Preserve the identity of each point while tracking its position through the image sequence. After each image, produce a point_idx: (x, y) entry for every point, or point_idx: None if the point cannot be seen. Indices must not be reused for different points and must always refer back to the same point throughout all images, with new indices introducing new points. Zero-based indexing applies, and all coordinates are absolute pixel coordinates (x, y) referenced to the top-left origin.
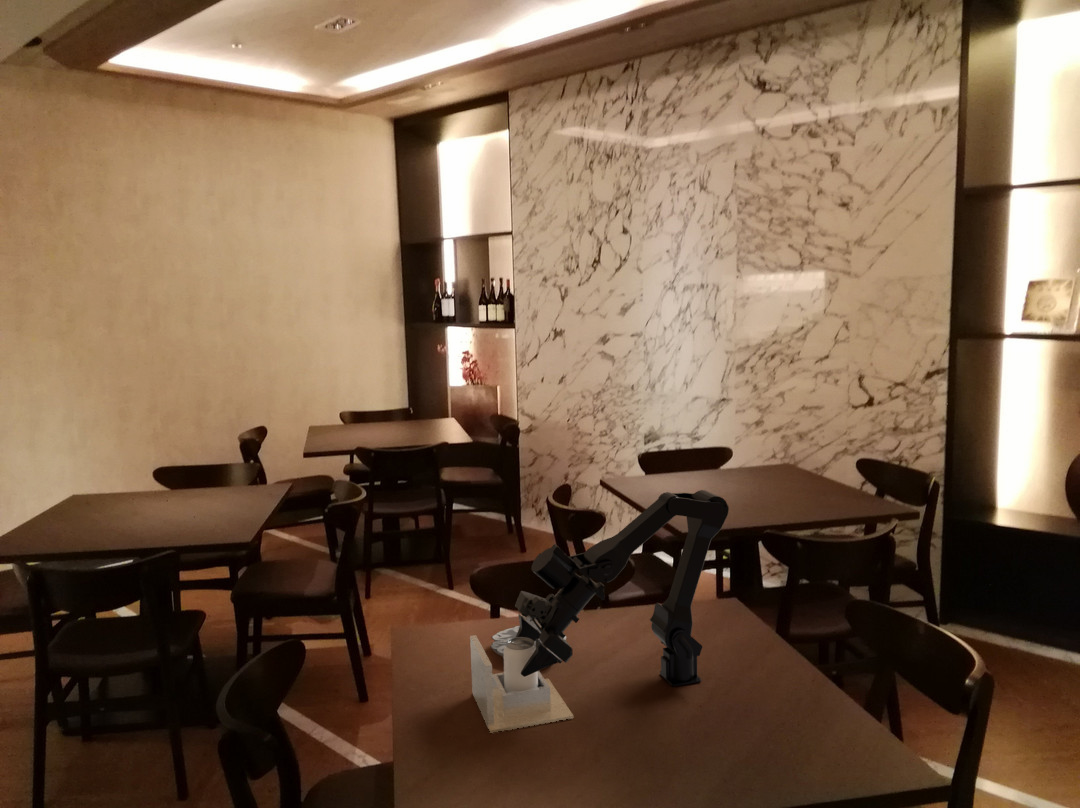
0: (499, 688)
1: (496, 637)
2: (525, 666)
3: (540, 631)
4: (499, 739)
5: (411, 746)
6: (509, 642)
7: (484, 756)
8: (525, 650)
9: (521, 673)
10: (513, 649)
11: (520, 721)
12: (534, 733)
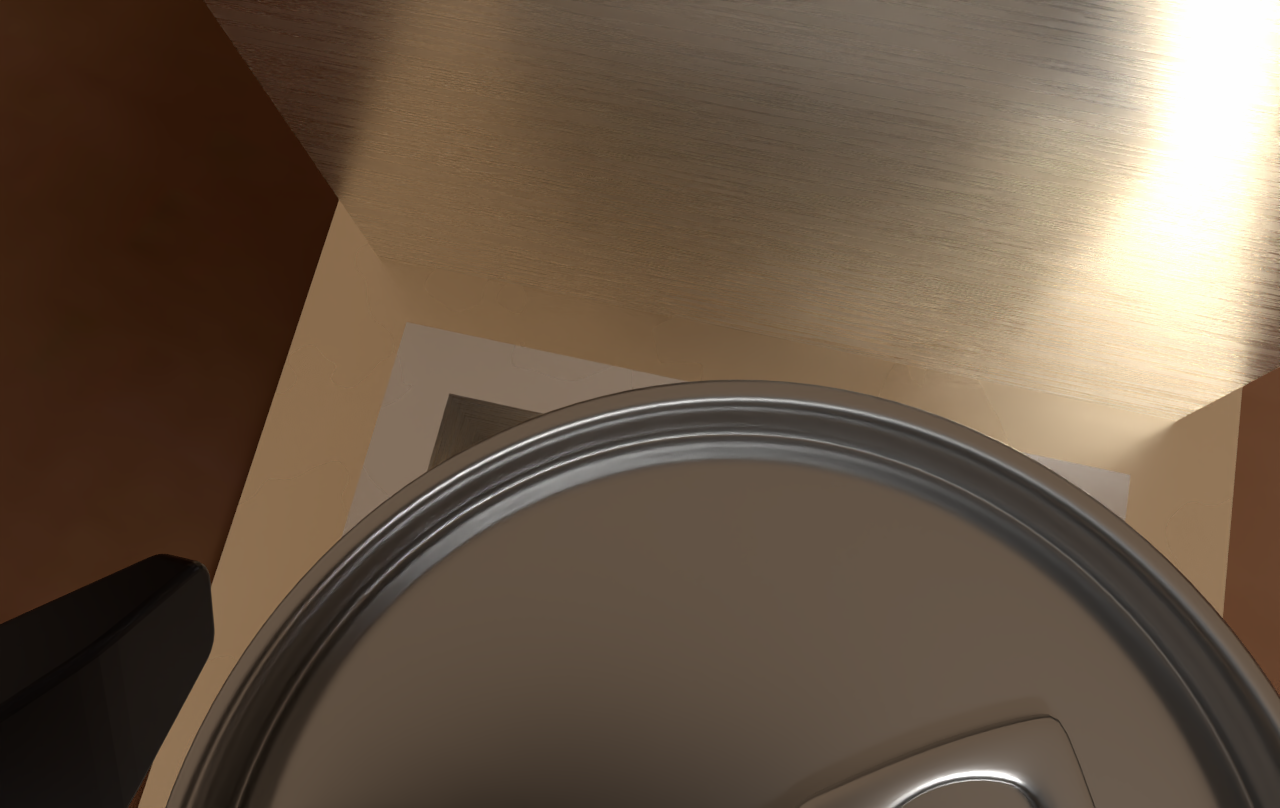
0: (631, 373)
1: None
2: (7, 641)
3: None
4: (212, 240)
5: None
6: (1139, 691)
7: (63, 26)
8: None
9: (155, 561)
10: (423, 493)
11: (306, 535)
12: (80, 581)
